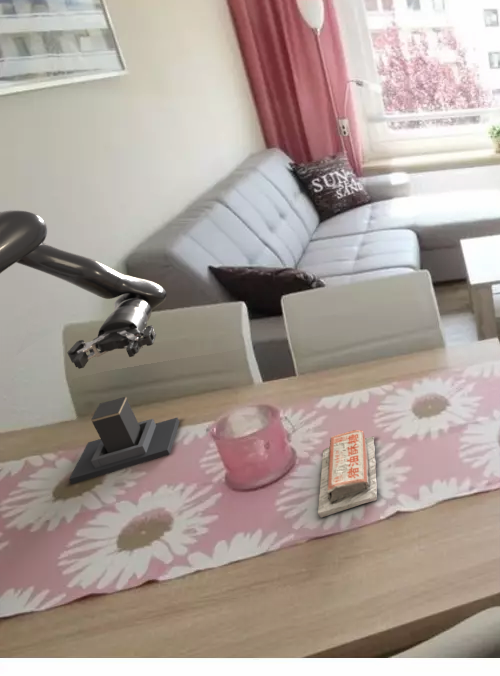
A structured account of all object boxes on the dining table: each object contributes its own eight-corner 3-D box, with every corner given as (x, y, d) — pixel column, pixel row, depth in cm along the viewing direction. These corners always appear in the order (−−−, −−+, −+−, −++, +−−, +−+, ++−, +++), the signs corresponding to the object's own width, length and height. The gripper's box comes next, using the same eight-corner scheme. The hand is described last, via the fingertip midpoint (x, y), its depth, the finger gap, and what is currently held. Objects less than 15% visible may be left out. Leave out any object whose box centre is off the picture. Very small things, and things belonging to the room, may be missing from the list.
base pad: (72, 484, 106) (64, 471, 105) (90, 447, 116) (84, 435, 115) (169, 455, 113) (164, 442, 112) (179, 422, 123) (174, 410, 121)
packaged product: (318, 436, 110) (370, 422, 113) (324, 454, 111) (374, 440, 115) (312, 500, 94) (373, 481, 98) (319, 520, 96) (378, 501, 100)
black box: (110, 458, 111) (90, 419, 107) (118, 440, 116) (99, 403, 112) (136, 450, 113) (118, 412, 109) (143, 433, 117) (126, 396, 114)
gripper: (79, 320, 123) (53, 353, 109) (156, 305, 129) (139, 334, 115) (92, 348, 125) (68, 383, 112) (166, 332, 131) (152, 363, 118)
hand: (104, 358), depth 114 cm, fingers open, 8 cm apart
